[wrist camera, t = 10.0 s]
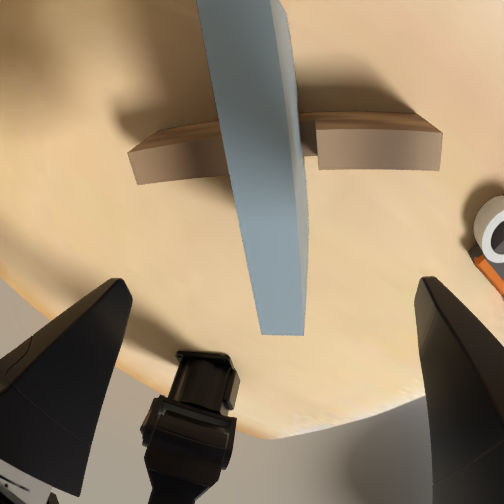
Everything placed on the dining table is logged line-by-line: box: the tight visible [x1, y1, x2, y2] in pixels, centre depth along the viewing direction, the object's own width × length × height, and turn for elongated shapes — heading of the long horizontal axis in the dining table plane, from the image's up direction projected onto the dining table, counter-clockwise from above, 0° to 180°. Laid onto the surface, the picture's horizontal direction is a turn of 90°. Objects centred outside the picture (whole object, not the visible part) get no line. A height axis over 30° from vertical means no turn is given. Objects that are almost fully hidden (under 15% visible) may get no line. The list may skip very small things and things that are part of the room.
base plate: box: [128, 112, 443, 185], centre depth 16 cm, size 16×2×4 cm, turn 98°
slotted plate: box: [196, 0, 309, 336], centre depth 14 cm, size 14×2×9 cm, turn 8°
